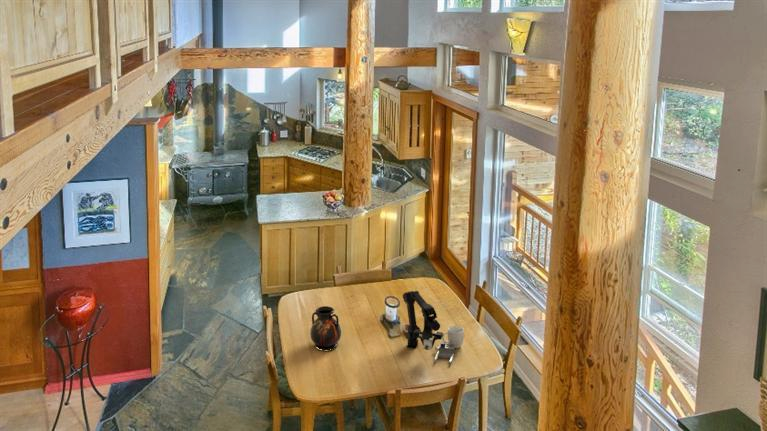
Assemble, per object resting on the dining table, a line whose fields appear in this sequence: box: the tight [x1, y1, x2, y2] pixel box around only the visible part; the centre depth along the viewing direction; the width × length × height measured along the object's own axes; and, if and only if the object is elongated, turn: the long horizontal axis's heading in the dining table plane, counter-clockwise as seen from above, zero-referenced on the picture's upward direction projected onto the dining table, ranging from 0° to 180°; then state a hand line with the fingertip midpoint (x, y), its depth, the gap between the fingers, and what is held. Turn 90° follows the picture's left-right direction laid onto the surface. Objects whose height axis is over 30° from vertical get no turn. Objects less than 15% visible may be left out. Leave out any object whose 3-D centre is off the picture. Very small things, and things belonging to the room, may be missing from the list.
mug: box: [441, 325, 465, 349], centre depth 450 cm, size 15×11×13 cm
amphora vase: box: [309, 305, 342, 351], centre depth 449 cm, size 22×22×28 cm
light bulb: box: [423, 337, 434, 351], centre depth 430 cm, size 6×8×7 cm
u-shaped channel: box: [434, 341, 456, 366], centre depth 435 cm, size 14×17×8 cm
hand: (428, 345), depth 432 cm, fingers closed on light bulb, 6 cm apart
